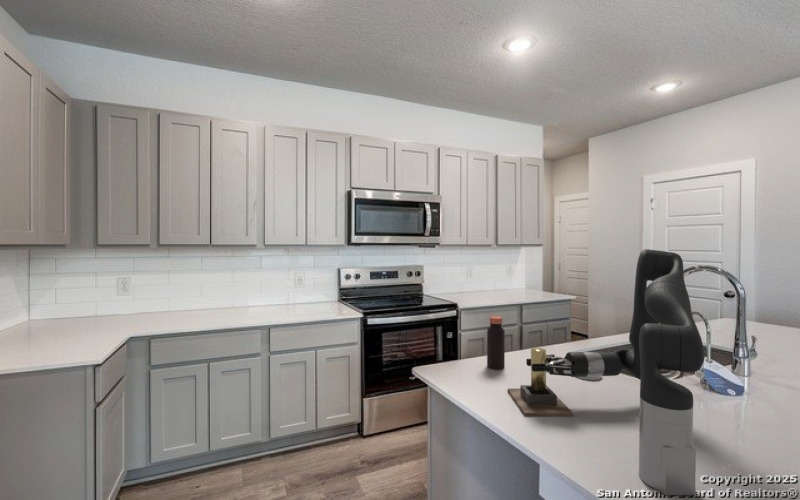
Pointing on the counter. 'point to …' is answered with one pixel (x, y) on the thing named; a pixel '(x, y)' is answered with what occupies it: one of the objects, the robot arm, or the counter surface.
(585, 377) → the mechanical component
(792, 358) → the counter surface
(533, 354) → the post
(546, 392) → the mounting plate
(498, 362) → the bottle
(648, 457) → the robot arm
